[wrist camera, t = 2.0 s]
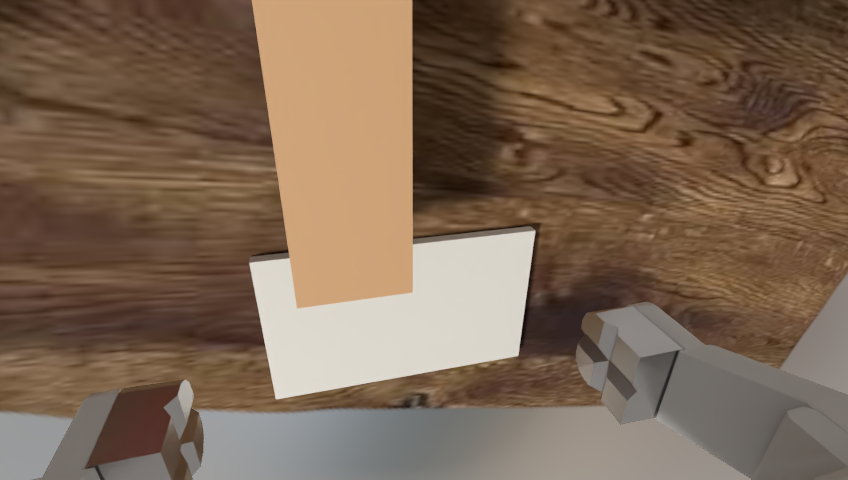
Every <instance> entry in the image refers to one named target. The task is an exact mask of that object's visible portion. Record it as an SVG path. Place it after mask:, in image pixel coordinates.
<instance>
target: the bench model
mask: <svg viewBox="0 0 848 480" xmlns="http://www.w3.org/2000/svg"><path fill="white" fill-rule="evenodd" d="M252 4H253V11H254V18H255V25H256V32H257V38H258V45H259V52H260V59H261V66H262V73H263V79H264V86H265V93H266V100H267V107H268V114H269V120H270V127H271V134H272V141H273V148H274V154H275V161H276V168H277V175H278V182H279V189H280V195H281V202H282V209H283V216H284V223H285V230H286V236H287V243H288V250H289V257H290V264H291V271H292V277H293V284H294V291H295V298H296V305H297V308H304V307H311V306H318V305H326V304H333V303H340V302H348V301H355V300H362V299H369V298H377V297H384V296H391V295H399V294H406V293H413V133H412V0H252Z"/></svg>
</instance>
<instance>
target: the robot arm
mask: <svg viewBox="0 0 848 480" xmlns="http://www.w3.org/2000/svg"><path fill="white" fill-rule="evenodd" d="M581 328H582V330H583V331H584V333H585V334H586V335H585V336H584V337H583V338H582V339H581V341H580V342H579V343H578V346H577V352H576V359H577V364H578V368H579V370H580V373H581V375H582V377H583V378H584V379H585V381H586V382H587V383H588V385H590V386H592V387H593V388H595V389H597V390H599V391H601V401H602V402H603V403H604V405H605V406H606V407H607V408H608V410H609V411H610V412H611V413H612V414H613V416H614V417H615V418H616V420H617V421H618V422H619V423H620V424H625V423H630V422H635V421H640V420H645V419H650V418H655V417H656V420H657V421H659V422H661V423H662V424H664V425H665V426H667V427H669V428H670V429H672V430H673V431H675V432H677V433H678V434H680V435H681V436H683V437H685V438H686V439H688V440H689V441H691V442H693V443H695V444H696V445H698V446H699V447H701V448H702V449H704V450H706V451H707V452H709V453H710V454H712V455H714V456H715V457H717V458H718V459H720V460H722V461H723V462H725V463H727V464H728V465H730V466H731V467H733V468H735V469H736V470H738V471H739V472H741V473H743V474H744V475H746V476H747V477H749V478H751V480H848V395H847V394H844V393H842V392H839V391H836V390H834V389H831V388H828V387H825V386H822V385H820V384H817V383H815V382H812V381H809V380H806V379H803V378H801V377H798V376H796V375H793V374H790V373H787V372H785V371H782V370H779V369H777V368H774V367H771V366H769V365H766V364H763V363H760V362H758V361H755V360H752V359H750V358H747V357H744V356H741V355H739V354H736V353H733V352H731V351H728V350H725V349H723V348H720V347H717V346H714V345H707V346H706V345H705V344H703V343H702V342H701V341H700V340H698V339H697V338H696V337H695V336H693V335H692V334H691V333H690V332H688V331H687V330H686V329H685V328H683V327H682V326H681V325H680V324H678V323H677V322H676V321H675V320H673V319H672V318H671V317H670V316H668V315H667V314H666V313H665V312H663V311H662V310H661V309H660V308H658V307H657V306H656V305H655V304H652V303H649V302H643V303H638V304H633V305H628V306H625V307H618V308H613V309H607V310H601V311H595V312H589V313H587V314H586V316H585V317H584V318H583V322H582V326H581ZM193 396H194V395H193V392H192V389H191V386H190V383H189V382H188V381H187V380H178V381H171V382H164V383H157V384H150V385H143V386H136V387H129V388H124V389H119V390H112V391H105V392H98V393H92V394H90V395H89V396H88V397H86V398H85V399H84V400H83V402H82V404H81V406H80V408H79V409H78V411H77V413H76V415H75V417H74V419H73V421H72V423H71V425H70V426H69V428H68V430H67V432H66V434H65V436H64V438H63V440H62V441H61V443H60V445H59V447H58V449H57V451H56V453H55V455H54V457H53V458H52V460H51V462H50V464H49V466H48V468H47V470H46V472H45V473H44V475H43V477H42V478H38V479H33V480H193V478H192V475H193V474H194V473H195V472H196V471H197V470H198V469H199V467H200V466H201V461H202V456H203V439H204V436H203V427H202V421H201V418H200V414H199V413H198V412H197V411H195V410H194V409H192V408H191V404H192V400H193Z"/></svg>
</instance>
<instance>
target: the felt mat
mask: <svg viewBox="0 0 848 480" xmlns="http://www.w3.org/2000/svg"><path fill="white" fill-rule="evenodd" d="M534 238H535V230H534V229H533V228H532V227H531V226H527V227H518V228H509V229H499V230H490V231H481V232H472V233H463V234H454V235H445V236H435V237H426V238H417V239H413V293H406V294H399V295H391V296H384V297H377V298H369V299H362V300H355V301H348V302H340V303H333V304H326V305H318V306H311V307H304V308H297V305H296V298H295V291H294V284H293V277H292V271H291V264H290V257H289V253H280V254H271V255H262V256H253V257H250V262H249V264H250V269H251V274H252V279H253V284H254V289H255V294H256V300H257V305H258V310H259V315H260V320H261V325H262V330H263V335H264V341H265V346H266V351H267V356H268V361H269V366H270V371H271V376H272V382H273V387H274V392H275V397H276V399H281V398H287V397H292V396H298V395H303V394H309V393H314V392H320V391H326V390H331V389H337V388H342V387H348V386H353V385H359V384H364V383H370V382H376V381H381V380H387V379H392V378H398V377H403V376H409V375H414V374H420V373H426V372H431V371H437V370H442V369H448V368H453V367H459V366H465V365H470V364H476V363H481V362H487V361H492V360H498V359H503V358H509V357H515V356H518V354H519V347H520V340H521V332H522V325H523V318H524V310H525V303H526V296H527V289H528V281H529V274H530V267H531V260H532V252H533V245H534Z"/></svg>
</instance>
